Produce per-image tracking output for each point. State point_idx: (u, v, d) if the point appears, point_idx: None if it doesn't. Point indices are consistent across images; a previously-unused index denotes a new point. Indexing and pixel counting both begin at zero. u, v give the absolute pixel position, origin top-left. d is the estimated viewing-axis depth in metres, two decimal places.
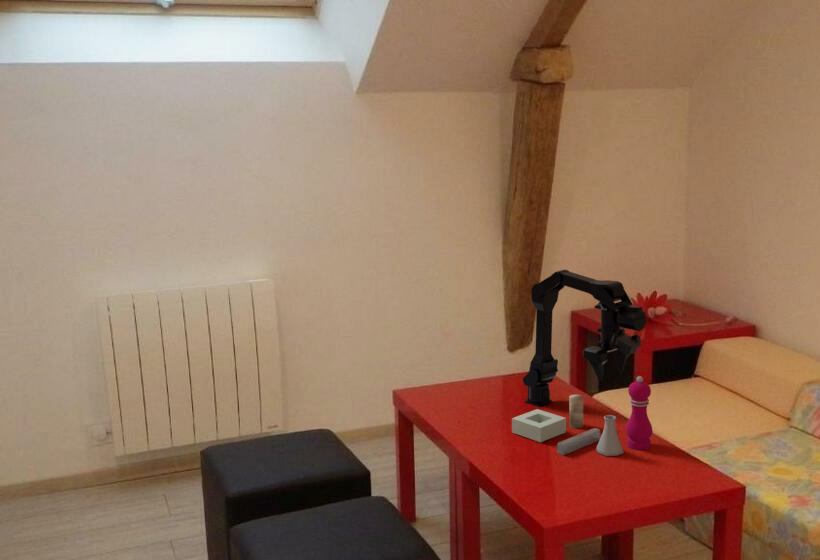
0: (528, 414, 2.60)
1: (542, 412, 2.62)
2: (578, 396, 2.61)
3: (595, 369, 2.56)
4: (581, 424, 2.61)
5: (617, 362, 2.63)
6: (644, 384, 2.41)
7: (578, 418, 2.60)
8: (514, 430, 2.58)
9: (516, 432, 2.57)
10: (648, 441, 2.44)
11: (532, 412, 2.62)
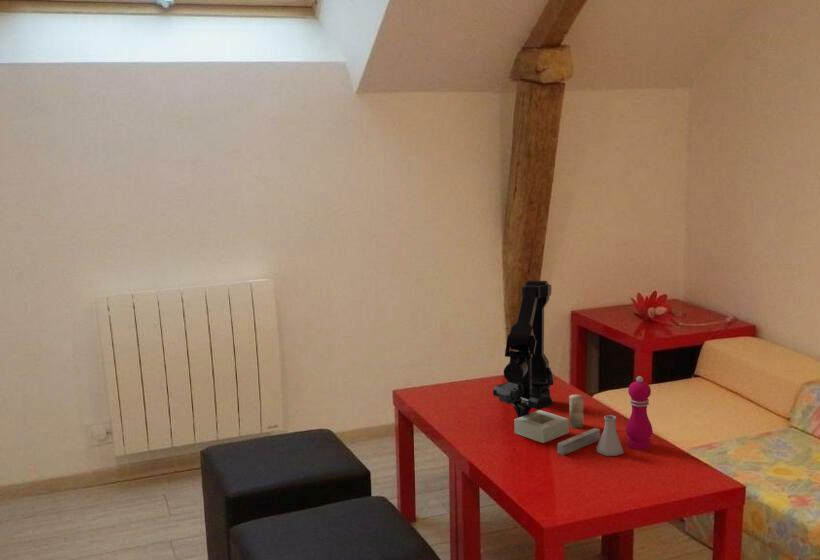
0: (531, 415, 2.60)
1: (545, 413, 2.61)
2: (578, 396, 2.61)
3: None
4: (581, 424, 2.61)
5: None
6: (644, 384, 2.41)
7: (578, 418, 2.60)
8: (517, 431, 2.57)
9: (519, 433, 2.56)
10: (648, 441, 2.44)
11: (535, 413, 2.61)
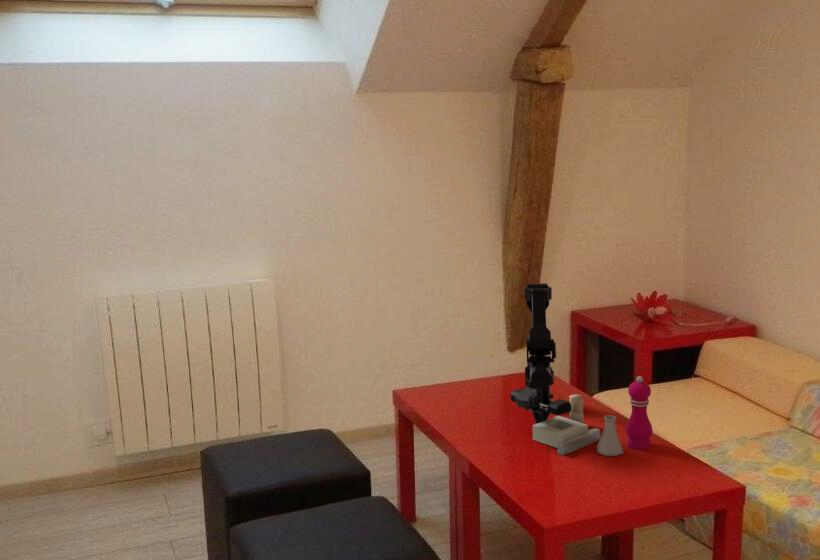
0: (549, 421, 2.54)
1: (563, 419, 2.56)
2: (578, 396, 2.61)
3: None
4: None
5: None
6: (644, 384, 2.41)
7: (578, 418, 2.60)
8: (535, 437, 2.52)
9: (537, 439, 2.51)
10: (648, 441, 2.44)
11: (553, 419, 2.56)
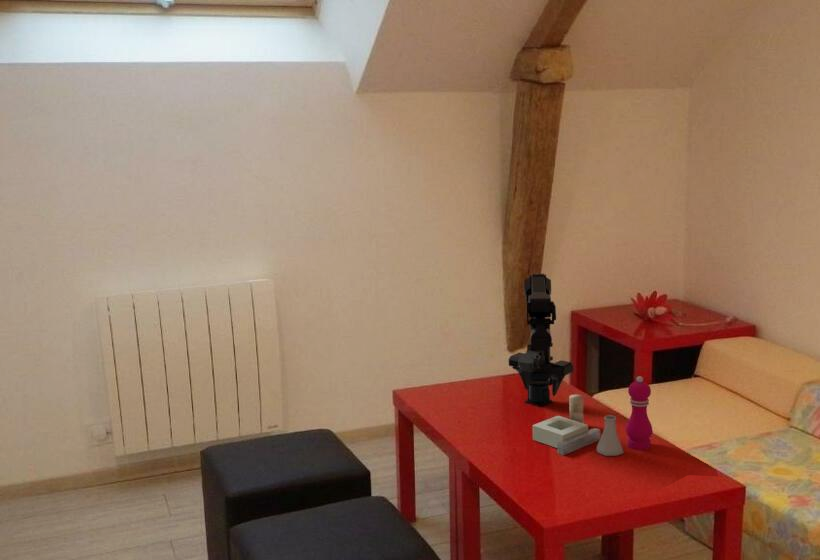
0: (549, 421, 2.54)
1: (563, 419, 2.56)
2: (578, 396, 2.61)
3: None
4: None
5: None
6: (644, 384, 2.41)
7: (578, 418, 2.60)
8: (535, 437, 2.52)
9: (537, 439, 2.51)
10: (648, 441, 2.44)
11: (553, 419, 2.56)
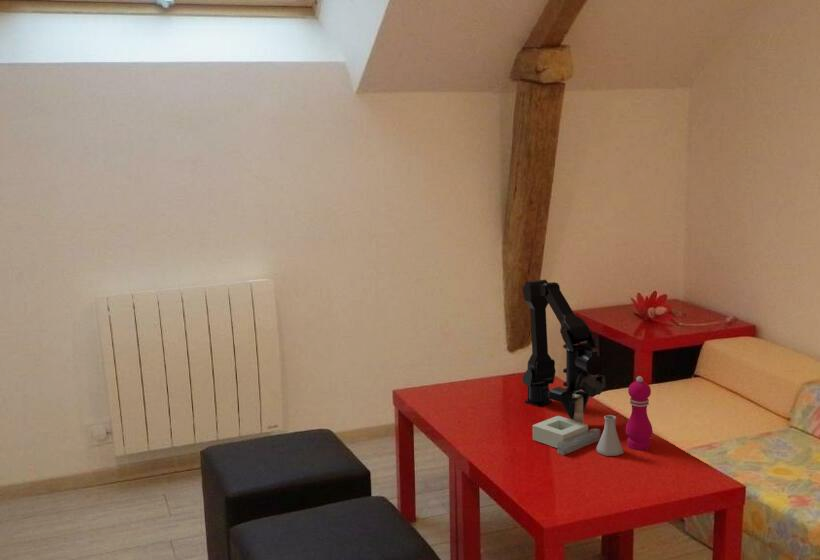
0: (549, 421, 2.54)
1: (563, 419, 2.56)
2: (578, 396, 2.61)
3: (566, 408, 2.60)
4: None
5: None
6: (644, 384, 2.41)
7: (579, 418, 2.60)
8: (535, 437, 2.52)
9: (537, 439, 2.51)
10: (648, 441, 2.44)
11: (553, 419, 2.56)
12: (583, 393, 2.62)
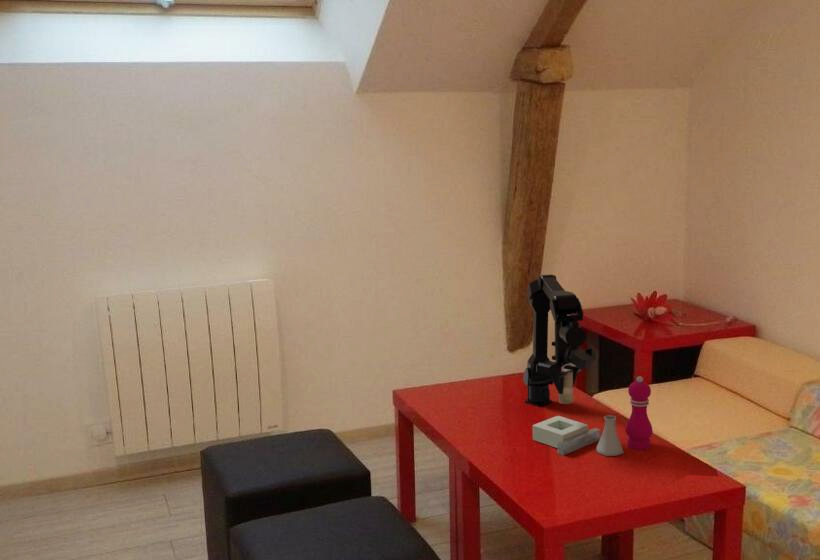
0: (549, 421, 2.54)
1: (563, 419, 2.56)
2: (567, 370, 2.51)
3: (555, 382, 2.50)
4: (571, 399, 2.51)
5: None
6: (644, 384, 2.41)
7: (568, 393, 2.50)
8: (535, 437, 2.52)
9: (537, 439, 2.51)
10: (648, 441, 2.44)
11: (553, 419, 2.56)
12: (572, 367, 2.52)
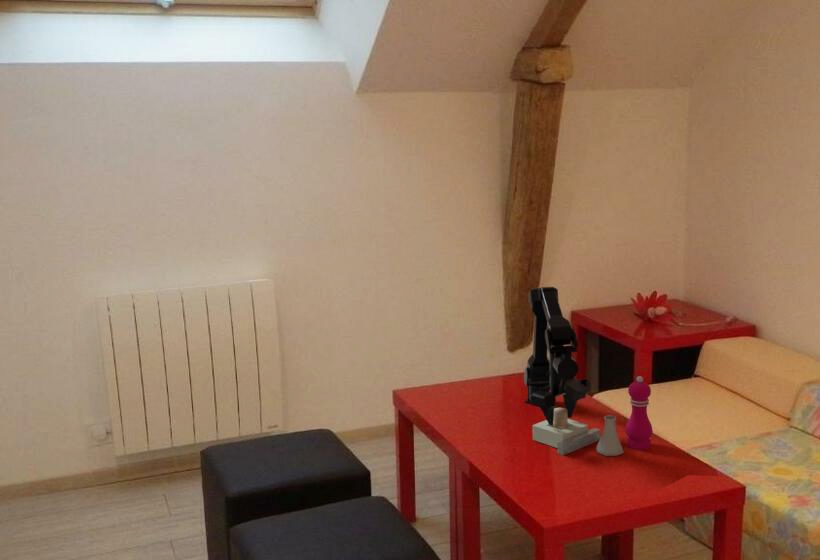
0: None
1: None
2: (562, 409, 2.50)
3: (545, 414, 2.48)
4: None
5: (566, 406, 2.54)
6: (644, 384, 2.41)
7: None
8: (535, 437, 2.52)
9: (537, 439, 2.51)
10: (648, 441, 2.44)
11: None
12: None
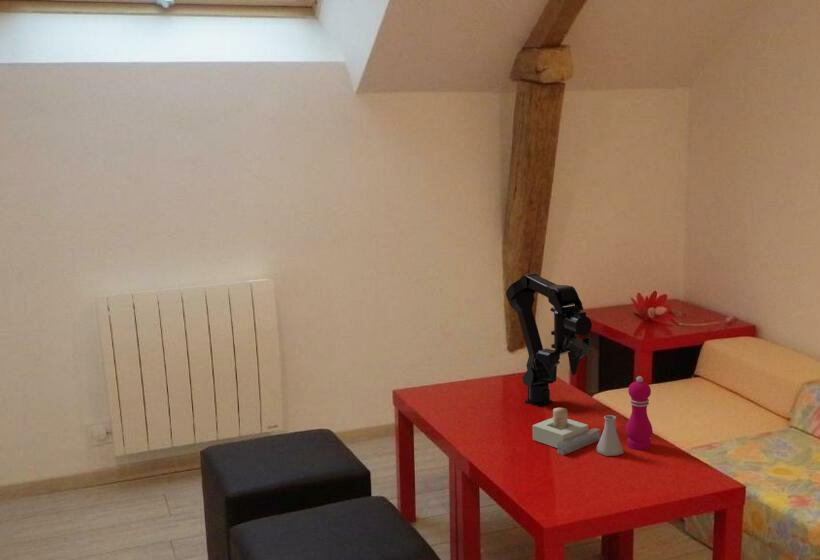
0: (549, 421, 2.54)
1: None
2: (562, 409, 2.50)
3: (548, 371, 2.65)
4: None
5: (571, 364, 2.72)
6: (644, 384, 2.41)
7: None
8: (535, 437, 2.52)
9: (537, 439, 2.51)
10: (648, 441, 2.44)
11: None
12: None
